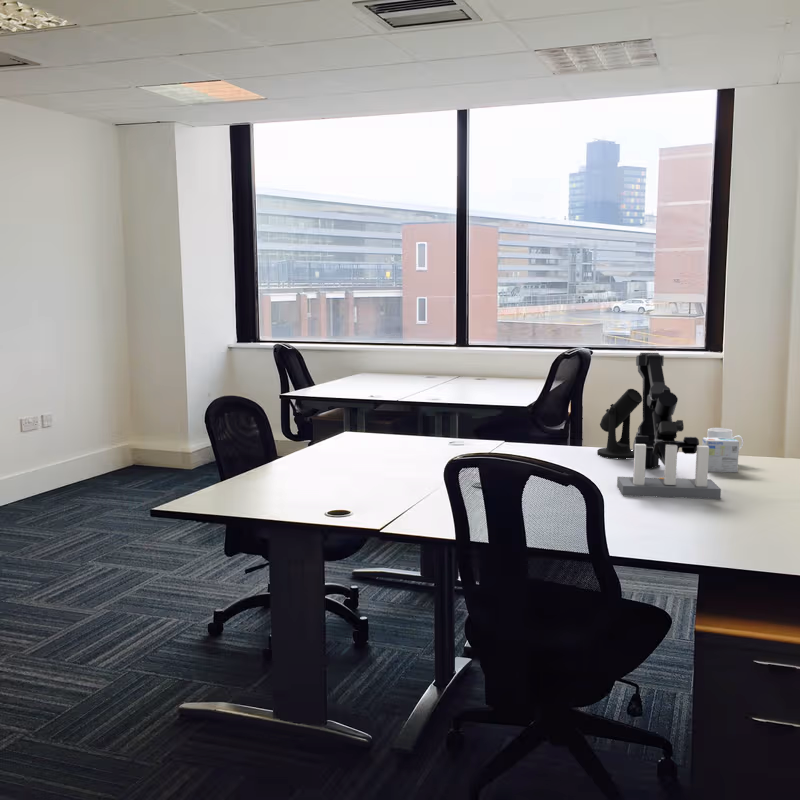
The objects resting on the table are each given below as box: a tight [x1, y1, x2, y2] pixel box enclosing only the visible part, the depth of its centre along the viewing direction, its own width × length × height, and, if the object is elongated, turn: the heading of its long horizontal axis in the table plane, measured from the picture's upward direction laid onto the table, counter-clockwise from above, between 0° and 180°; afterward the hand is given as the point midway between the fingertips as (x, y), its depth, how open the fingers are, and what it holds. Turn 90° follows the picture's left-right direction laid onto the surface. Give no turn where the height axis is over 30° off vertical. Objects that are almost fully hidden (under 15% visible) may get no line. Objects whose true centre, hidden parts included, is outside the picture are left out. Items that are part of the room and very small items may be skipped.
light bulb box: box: [701, 437, 740, 473], centre depth 283 cm, size 11×7×11 cm, turn 84°
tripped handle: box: [663, 445, 678, 485], centre depth 249 cm, size 2×3×12 cm, turn 83°
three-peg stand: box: [616, 444, 722, 500], centre depth 252 cm, size 12×28×15 cm, turn 83°
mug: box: [706, 427, 744, 451], centre depth 295 cm, size 12×8×11 cm
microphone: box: [597, 388, 643, 460], centre depth 305 cm, size 15×17×25 cm
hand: (668, 468), depth 252 cm, fingers closed
